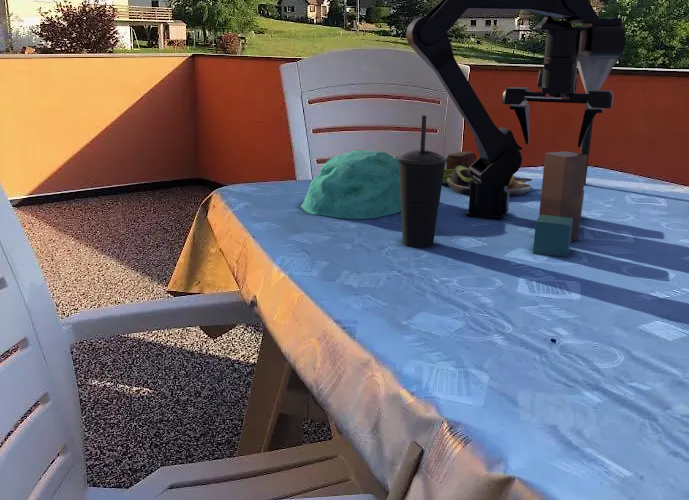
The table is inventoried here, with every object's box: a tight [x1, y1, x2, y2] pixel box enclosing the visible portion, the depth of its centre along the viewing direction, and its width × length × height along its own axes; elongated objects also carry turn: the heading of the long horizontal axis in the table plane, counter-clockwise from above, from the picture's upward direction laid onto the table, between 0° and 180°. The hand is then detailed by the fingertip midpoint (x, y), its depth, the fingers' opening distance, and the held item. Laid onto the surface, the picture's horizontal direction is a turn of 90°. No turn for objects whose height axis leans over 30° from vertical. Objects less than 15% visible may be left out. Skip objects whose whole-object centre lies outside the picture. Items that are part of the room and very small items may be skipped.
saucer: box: [442, 168, 453, 185], centre depth 163 cm, size 9×9×2 cm
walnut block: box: [538, 151, 587, 242], centre depth 115 cm, size 5×5×14 cm
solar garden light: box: [574, 51, 626, 186], centre depth 160 cm, size 12×12×30 cm
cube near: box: [532, 215, 573, 258], centre depth 109 cm, size 5×5×5 cm
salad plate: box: [447, 165, 533, 197], centre depth 156 cm, size 19×18×5 cm
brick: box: [445, 150, 478, 170], centre depth 176 cm, size 11×4×5 cm, turn 149°
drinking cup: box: [396, 115, 447, 248], centre depth 109 cm, size 8×8×20 cm
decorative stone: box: [300, 149, 401, 220], centre depth 139 cm, size 21×27×10 cm
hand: (552, 145), depth 130 cm, fingers open, 9 cm apart
